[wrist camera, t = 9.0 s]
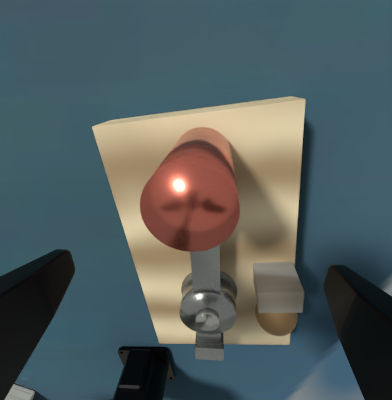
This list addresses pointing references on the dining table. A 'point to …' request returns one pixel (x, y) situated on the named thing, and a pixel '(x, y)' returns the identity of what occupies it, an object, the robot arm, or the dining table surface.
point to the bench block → (248, 220)
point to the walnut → (276, 322)
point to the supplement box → (20, 393)
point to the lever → (197, 228)
